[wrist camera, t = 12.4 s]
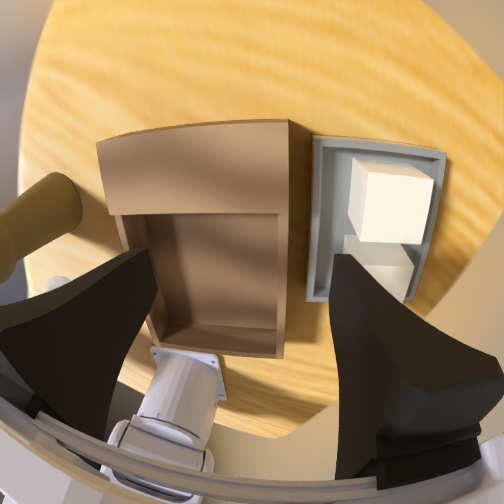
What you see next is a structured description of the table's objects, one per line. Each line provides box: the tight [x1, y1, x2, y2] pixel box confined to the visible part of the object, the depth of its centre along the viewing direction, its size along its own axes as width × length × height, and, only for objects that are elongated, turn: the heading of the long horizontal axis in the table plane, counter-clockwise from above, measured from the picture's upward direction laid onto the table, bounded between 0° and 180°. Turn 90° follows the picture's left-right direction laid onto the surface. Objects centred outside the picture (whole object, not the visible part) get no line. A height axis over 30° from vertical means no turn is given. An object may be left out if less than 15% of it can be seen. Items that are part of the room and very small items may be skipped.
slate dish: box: [305, 135, 447, 302], centre depth 18 cm, size 12×9×2 cm
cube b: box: [348, 157, 434, 245], centre depth 16 cm, size 4×4×4 cm
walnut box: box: [96, 119, 289, 359], centre depth 20 cm, size 18×12×4 cm, turn 2°
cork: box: [0, 172, 82, 284], centre depth 17 cm, size 6×6×11 cm
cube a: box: [343, 235, 414, 304], centre depth 18 cm, size 4×4×4 cm
